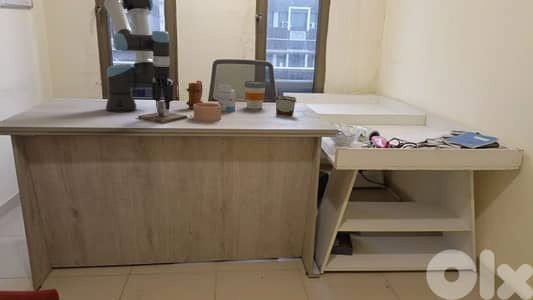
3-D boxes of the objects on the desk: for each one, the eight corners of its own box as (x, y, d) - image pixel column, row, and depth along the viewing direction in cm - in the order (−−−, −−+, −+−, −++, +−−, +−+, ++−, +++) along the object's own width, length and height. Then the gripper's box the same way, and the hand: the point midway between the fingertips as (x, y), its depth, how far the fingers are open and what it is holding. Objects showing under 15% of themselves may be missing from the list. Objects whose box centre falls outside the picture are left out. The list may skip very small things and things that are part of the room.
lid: (138, 118, 183) (137, 101, 181) (163, 113, 197) (163, 97, 194) (162, 123, 175) (162, 105, 173) (186, 118, 189) (186, 101, 186)
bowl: (188, 119, 189) (188, 105, 187) (205, 115, 200) (205, 102, 198) (208, 123, 183) (208, 108, 181) (225, 119, 193) (225, 105, 191)
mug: (198, 110, 211) (198, 83, 207) (184, 109, 212) (184, 82, 208) (207, 106, 225) (207, 80, 220) (194, 105, 226) (194, 79, 222)
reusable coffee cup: (268, 107, 230) (270, 82, 225) (257, 110, 219) (258, 84, 215) (251, 105, 236) (252, 80, 232) (239, 107, 226) (240, 81, 222)
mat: (134, 119, 183) (133, 118, 183) (163, 113, 199) (163, 112, 198) (162, 125, 174) (162, 124, 174) (191, 119, 189) (191, 118, 189)
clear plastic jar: (235, 110, 216) (236, 84, 212) (231, 112, 211) (232, 85, 207) (222, 109, 219) (222, 83, 215) (217, 110, 214) (218, 83, 210)
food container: (298, 115, 211) (300, 97, 208) (294, 117, 205) (296, 98, 203) (278, 112, 216) (279, 95, 213) (273, 114, 210) (274, 96, 207)
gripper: (142, 64, 180) (144, 113, 187) (168, 67, 172) (170, 118, 178) (154, 64, 186) (156, 111, 193) (180, 66, 178) (181, 116, 184)
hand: (163, 114), depth 186 cm, fingers closed on lid, 4 cm apart
